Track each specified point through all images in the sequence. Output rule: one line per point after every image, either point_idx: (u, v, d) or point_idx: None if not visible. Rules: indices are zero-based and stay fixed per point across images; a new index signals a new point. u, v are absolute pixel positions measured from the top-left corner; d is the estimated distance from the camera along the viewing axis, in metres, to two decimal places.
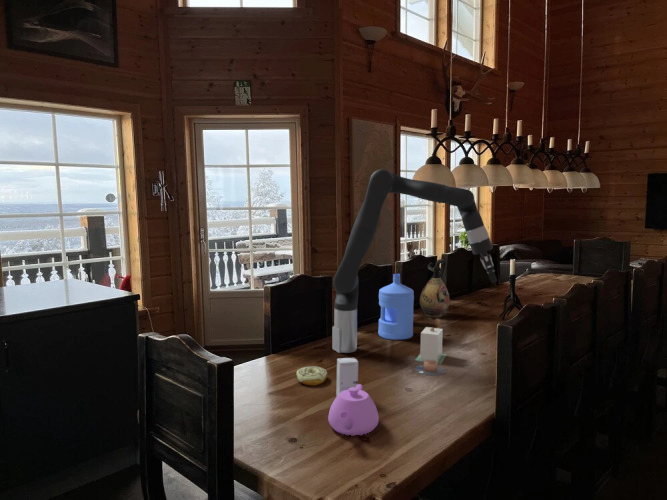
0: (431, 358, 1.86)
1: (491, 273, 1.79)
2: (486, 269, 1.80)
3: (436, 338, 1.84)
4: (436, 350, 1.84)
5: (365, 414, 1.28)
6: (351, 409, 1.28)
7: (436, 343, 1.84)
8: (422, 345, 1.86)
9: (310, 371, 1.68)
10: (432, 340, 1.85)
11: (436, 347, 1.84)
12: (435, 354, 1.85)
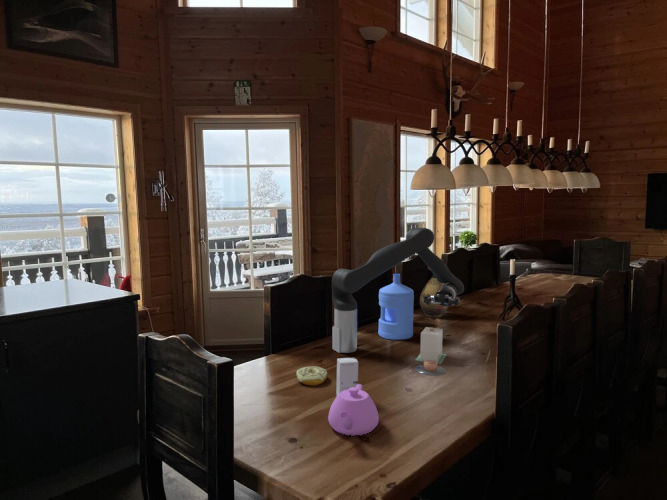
0: (431, 358, 1.86)
1: (453, 302, 1.99)
2: (450, 298, 2.01)
3: (436, 338, 1.84)
4: (436, 350, 1.84)
5: (365, 414, 1.28)
6: (351, 409, 1.28)
7: (436, 343, 1.84)
8: (422, 345, 1.86)
9: (310, 371, 1.68)
10: (432, 340, 1.85)
11: (436, 347, 1.84)
12: (435, 354, 1.85)
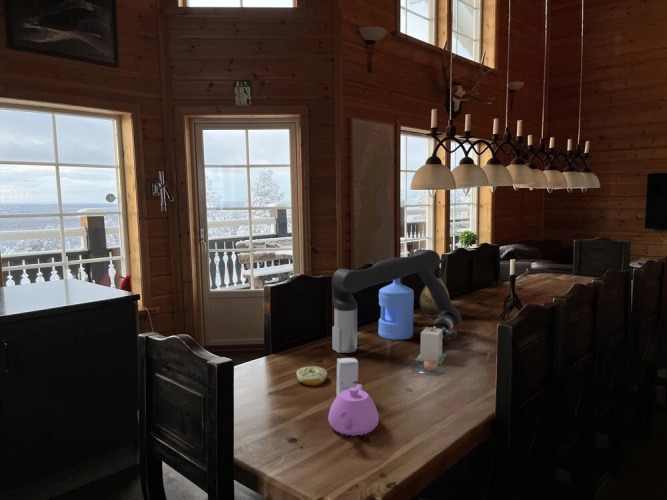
0: (431, 358, 1.86)
1: (450, 336, 1.97)
2: (447, 332, 1.99)
3: (436, 338, 1.84)
4: (436, 350, 1.84)
5: (365, 414, 1.28)
6: (351, 409, 1.28)
7: (436, 343, 1.84)
8: (422, 345, 1.86)
9: (310, 371, 1.68)
10: (432, 340, 1.85)
11: (436, 347, 1.84)
12: (435, 354, 1.85)
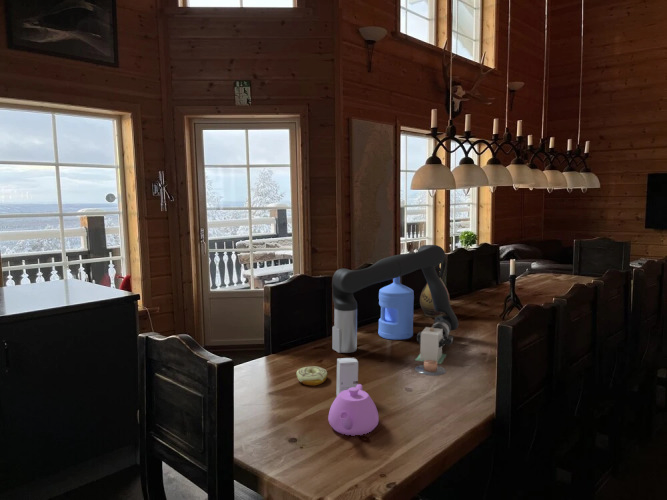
0: (431, 358, 1.86)
1: (444, 342, 1.89)
2: (442, 337, 1.91)
3: (436, 338, 1.84)
4: (436, 350, 1.84)
5: (365, 414, 1.28)
6: (351, 409, 1.28)
7: (436, 343, 1.84)
8: (422, 345, 1.86)
9: (310, 371, 1.68)
10: (432, 340, 1.85)
11: (436, 347, 1.84)
12: (435, 354, 1.85)
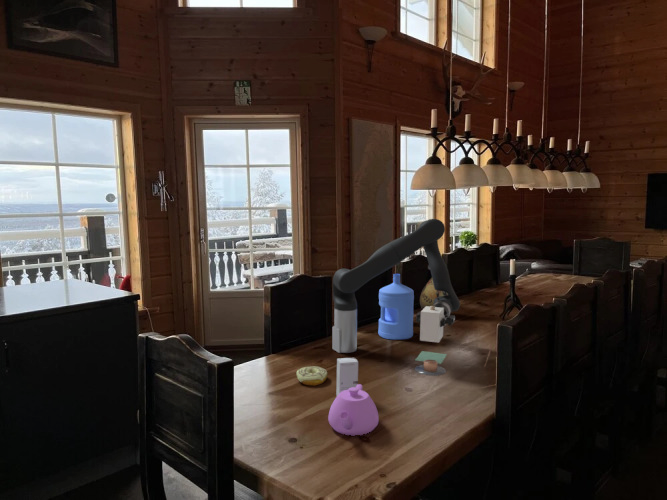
0: (432, 338, 1.72)
1: (445, 322, 1.75)
2: (443, 317, 1.77)
3: (437, 317, 1.71)
4: (437, 330, 1.71)
5: (365, 414, 1.28)
6: (351, 409, 1.28)
7: (437, 322, 1.71)
8: (422, 325, 1.73)
9: (310, 371, 1.68)
10: (433, 319, 1.71)
11: (437, 326, 1.71)
12: (436, 334, 1.71)
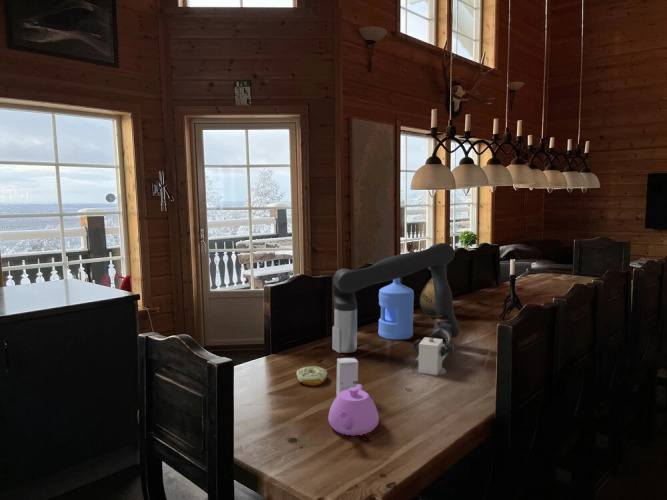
0: (430, 371, 1.72)
1: (446, 351, 1.75)
2: (444, 346, 1.77)
3: (435, 349, 1.70)
4: (435, 362, 1.71)
5: (365, 414, 1.28)
6: (351, 409, 1.28)
7: (435, 355, 1.71)
8: (420, 357, 1.73)
9: (310, 371, 1.68)
10: (431, 352, 1.71)
11: (435, 359, 1.71)
12: (434, 367, 1.71)
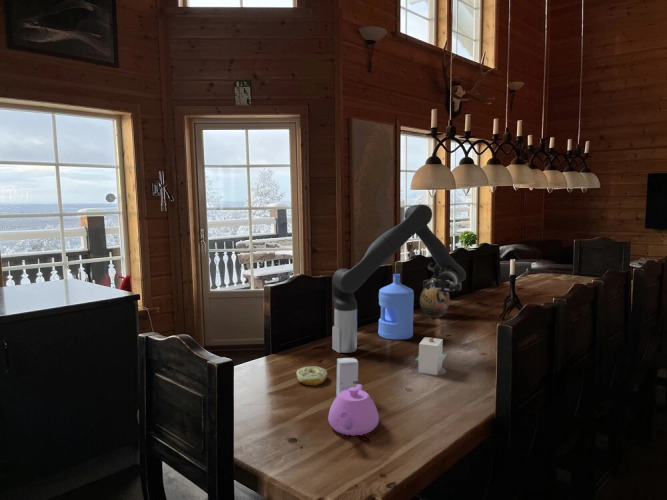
0: (430, 371, 1.72)
1: (454, 287, 1.85)
2: (452, 283, 1.86)
3: (435, 349, 1.70)
4: (435, 362, 1.71)
5: (365, 414, 1.28)
6: (351, 409, 1.28)
7: (435, 355, 1.71)
8: (420, 357, 1.73)
9: (310, 371, 1.68)
10: (431, 352, 1.71)
11: (435, 359, 1.71)
12: (434, 367, 1.71)
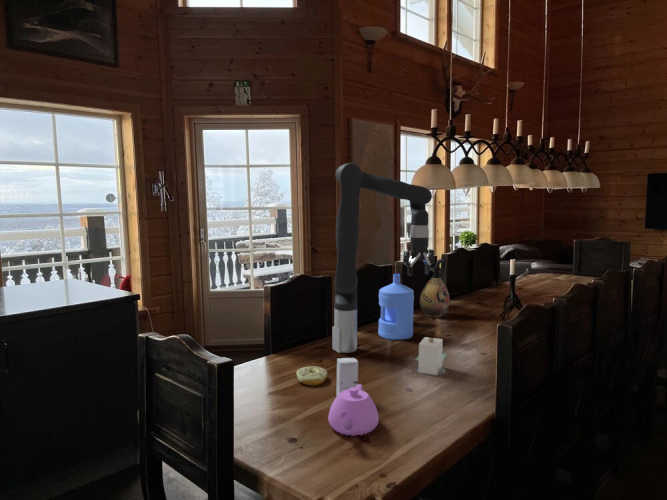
0: (430, 371, 1.72)
1: None
2: (428, 262, 2.03)
3: (435, 349, 1.70)
4: (435, 362, 1.71)
5: (365, 414, 1.28)
6: (351, 409, 1.28)
7: (435, 355, 1.71)
8: (420, 357, 1.73)
9: (310, 371, 1.68)
10: (431, 352, 1.71)
11: (435, 359, 1.71)
12: (434, 367, 1.71)
